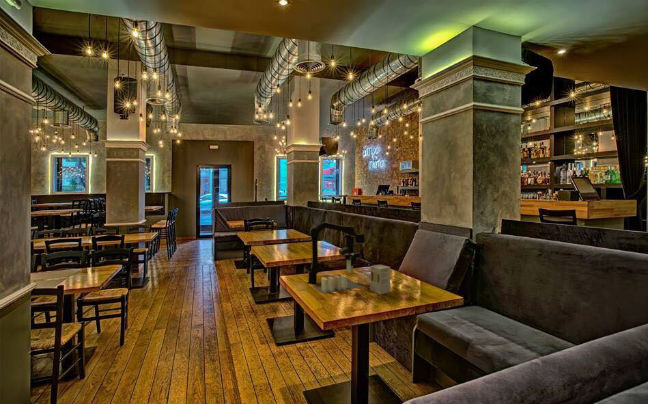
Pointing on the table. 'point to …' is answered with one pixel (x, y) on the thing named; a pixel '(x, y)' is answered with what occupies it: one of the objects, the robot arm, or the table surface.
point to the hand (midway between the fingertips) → (349, 265)
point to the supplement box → (380, 279)
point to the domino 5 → (349, 266)
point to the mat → (349, 286)
